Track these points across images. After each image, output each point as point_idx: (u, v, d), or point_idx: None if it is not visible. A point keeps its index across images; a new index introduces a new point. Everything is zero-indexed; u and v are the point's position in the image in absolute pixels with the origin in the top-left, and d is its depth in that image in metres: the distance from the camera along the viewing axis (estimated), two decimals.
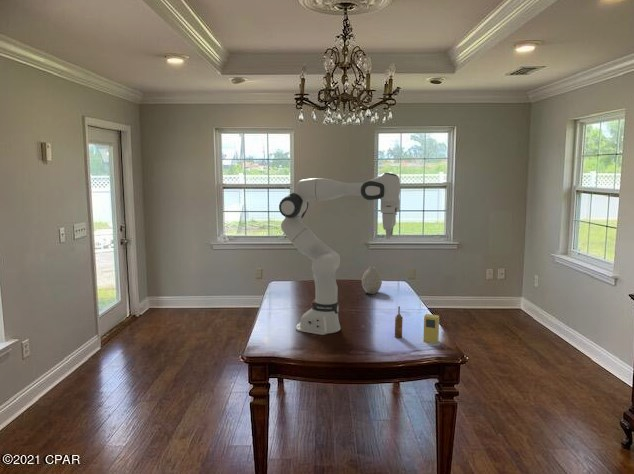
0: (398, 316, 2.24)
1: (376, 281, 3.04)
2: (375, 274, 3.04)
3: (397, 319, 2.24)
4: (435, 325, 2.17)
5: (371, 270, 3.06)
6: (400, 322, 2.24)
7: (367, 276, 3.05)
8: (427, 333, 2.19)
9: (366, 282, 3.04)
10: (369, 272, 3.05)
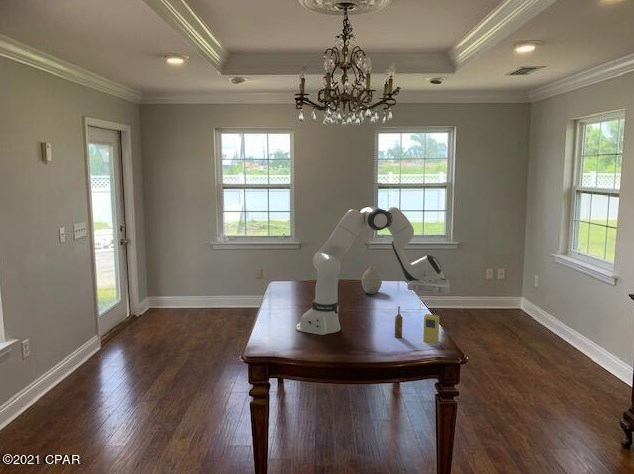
0: (398, 316, 2.24)
1: (376, 281, 3.04)
2: (375, 274, 3.04)
3: (397, 319, 2.24)
4: (435, 325, 2.17)
5: (371, 270, 3.06)
6: (400, 322, 2.24)
7: (367, 276, 3.05)
8: (427, 333, 2.19)
9: (366, 282, 3.04)
10: (369, 272, 3.05)
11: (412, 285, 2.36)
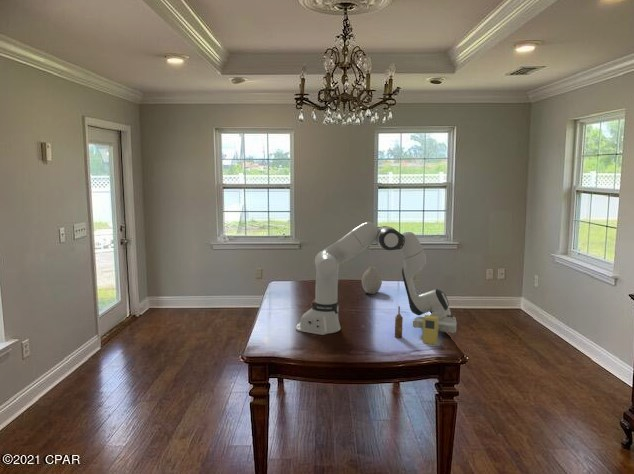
0: (398, 316, 2.24)
1: (376, 281, 3.04)
2: (375, 274, 3.04)
3: (397, 319, 2.24)
4: (434, 326, 2.15)
5: (371, 270, 3.06)
6: (400, 322, 2.24)
7: (367, 276, 3.05)
8: (426, 334, 2.18)
9: (366, 282, 3.04)
10: (369, 272, 3.05)
11: (417, 322, 2.28)
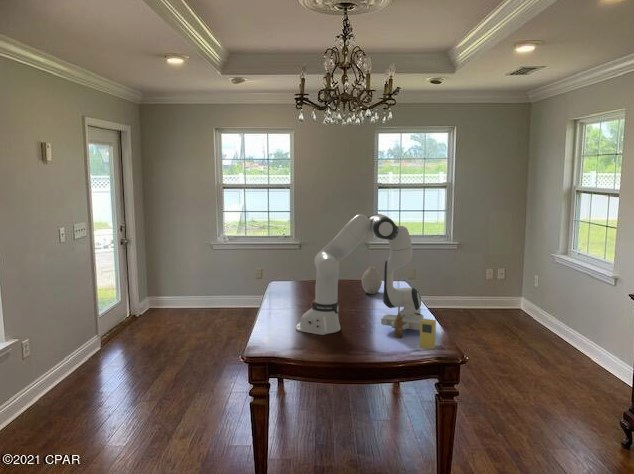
0: (398, 316, 2.24)
1: (376, 281, 3.04)
2: (375, 274, 3.04)
3: (397, 319, 2.24)
4: (431, 330, 2.10)
5: (371, 270, 3.06)
6: (400, 322, 2.24)
7: (367, 276, 3.05)
8: (423, 338, 2.12)
9: (366, 282, 3.04)
10: (369, 272, 3.05)
11: (386, 320, 2.32)
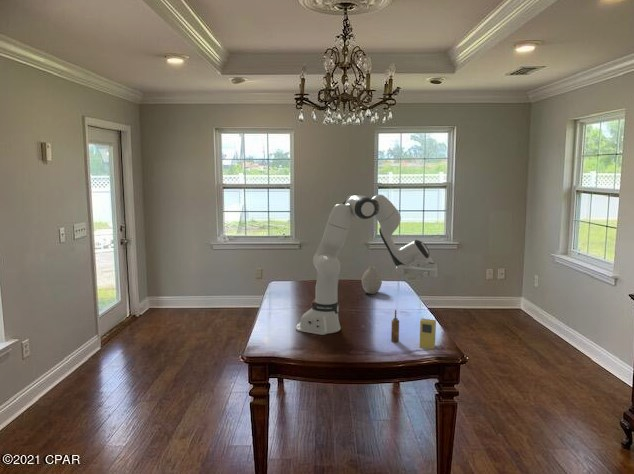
0: (395, 320, 2.18)
1: (376, 281, 3.04)
2: (375, 274, 3.04)
3: (394, 323, 2.18)
4: (431, 330, 2.10)
5: (371, 270, 3.06)
6: (397, 326, 2.18)
7: (367, 276, 3.05)
8: (423, 338, 2.12)
9: (366, 282, 3.04)
10: (369, 272, 3.05)
11: (400, 269, 2.37)
